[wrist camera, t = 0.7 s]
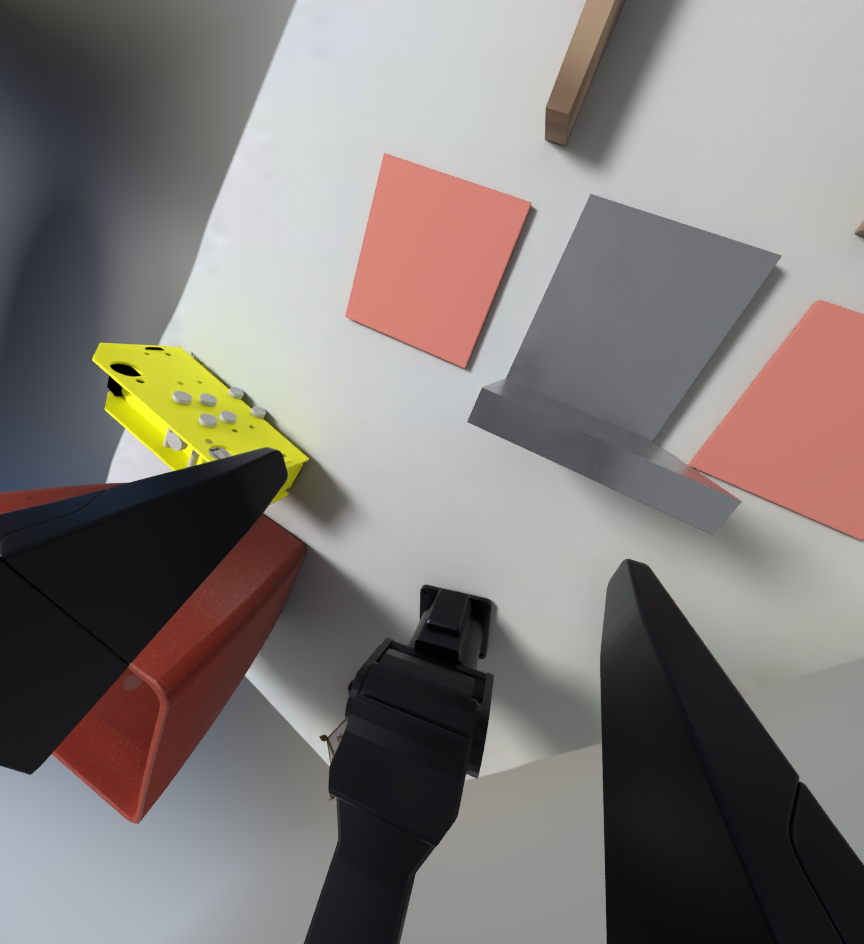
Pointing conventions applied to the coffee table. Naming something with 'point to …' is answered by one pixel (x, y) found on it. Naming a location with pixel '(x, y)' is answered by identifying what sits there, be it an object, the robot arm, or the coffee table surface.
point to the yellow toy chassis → (185, 409)
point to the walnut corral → (583, 69)
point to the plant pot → (177, 666)
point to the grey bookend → (626, 354)
